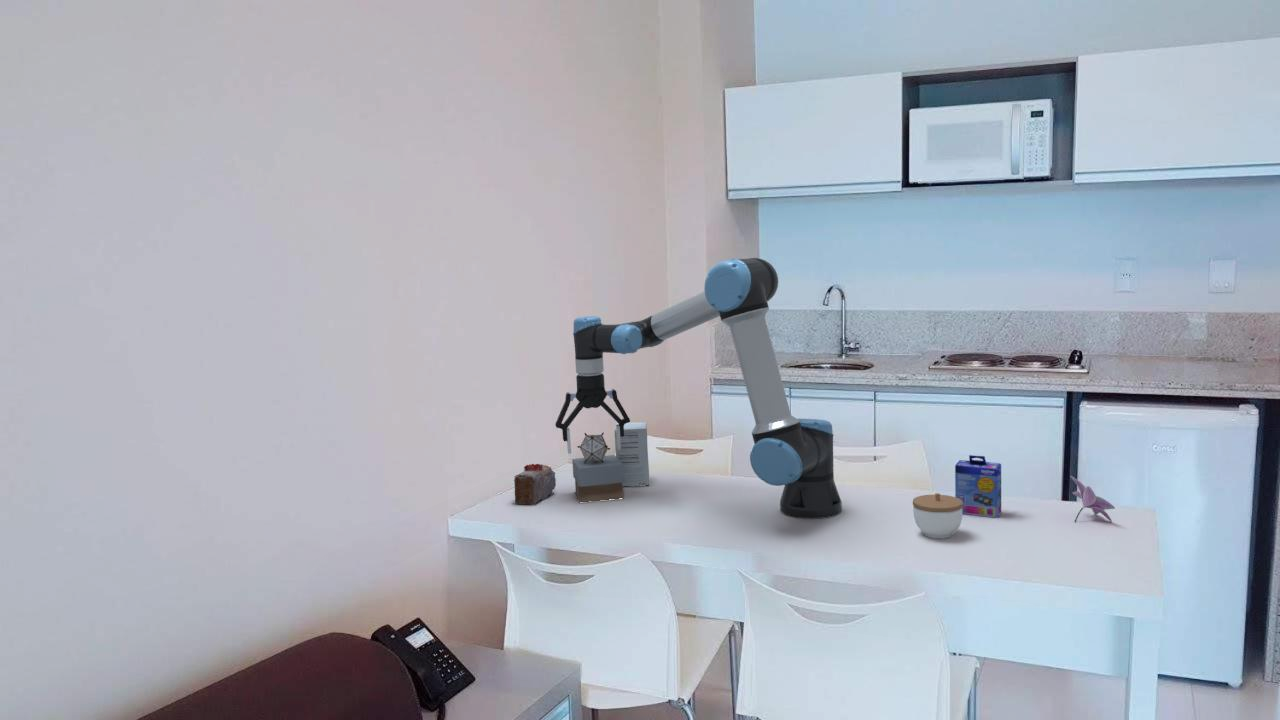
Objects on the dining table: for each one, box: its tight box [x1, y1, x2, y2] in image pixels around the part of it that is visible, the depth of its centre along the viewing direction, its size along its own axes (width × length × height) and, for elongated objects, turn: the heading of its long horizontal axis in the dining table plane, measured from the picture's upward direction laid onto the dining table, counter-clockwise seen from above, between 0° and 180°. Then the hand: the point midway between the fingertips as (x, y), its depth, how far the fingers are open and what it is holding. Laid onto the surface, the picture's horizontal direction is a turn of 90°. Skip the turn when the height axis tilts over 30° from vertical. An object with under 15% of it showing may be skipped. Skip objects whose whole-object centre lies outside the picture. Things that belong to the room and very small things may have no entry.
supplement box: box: [614, 421, 650, 487], centre depth 262 cm, size 10×9×17 cm
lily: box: [1070, 475, 1116, 523], centre depth 209 cm, size 12×12×10 cm
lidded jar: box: [912, 492, 963, 539], centre depth 204 cm, size 11×11×9 cm
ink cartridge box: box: [954, 454, 1003, 519], centre depth 218 cm, size 10×6×14 cm, turn 59°
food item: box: [513, 463, 557, 506], centre depth 251 cm, size 14×8×10 cm, turn 164°
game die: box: [576, 432, 611, 464], centre depth 249 cm, size 9×8×10 cm
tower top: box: [571, 454, 624, 487], centre depth 250 cm, size 12×12×5 cm
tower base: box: [574, 479, 624, 504], centre depth 251 cm, size 12×12×5 cm
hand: (594, 450), depth 249 cm, fingers open, 13 cm apart
